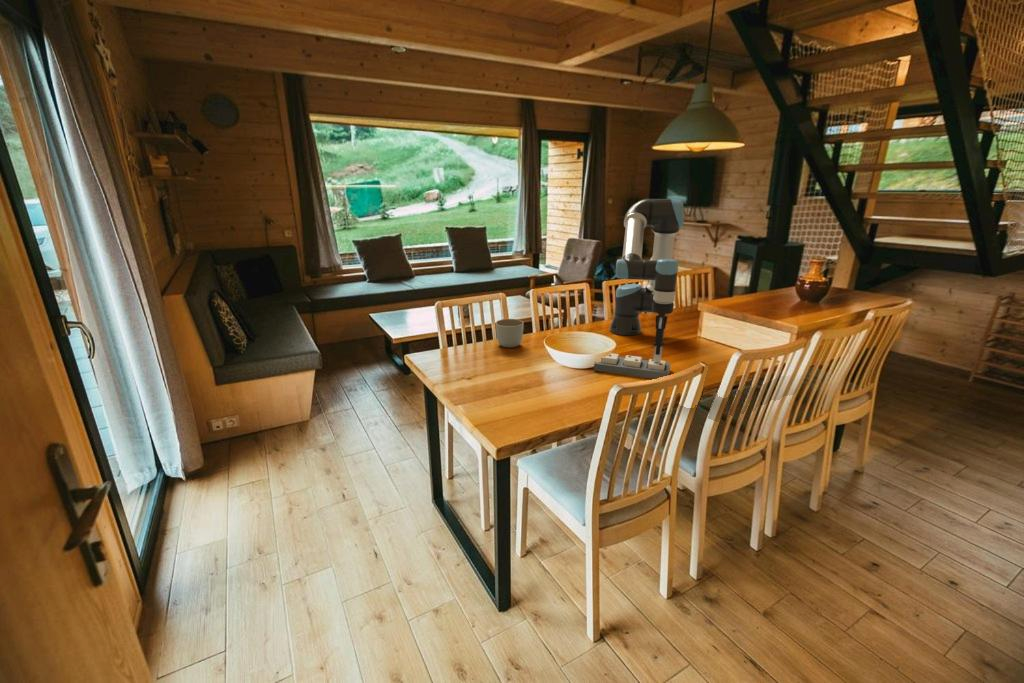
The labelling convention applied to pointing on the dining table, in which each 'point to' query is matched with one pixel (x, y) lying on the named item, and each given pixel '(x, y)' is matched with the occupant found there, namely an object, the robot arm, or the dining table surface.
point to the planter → (509, 332)
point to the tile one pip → (610, 359)
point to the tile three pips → (656, 365)
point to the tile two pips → (632, 361)
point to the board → (632, 369)
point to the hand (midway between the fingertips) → (656, 361)
